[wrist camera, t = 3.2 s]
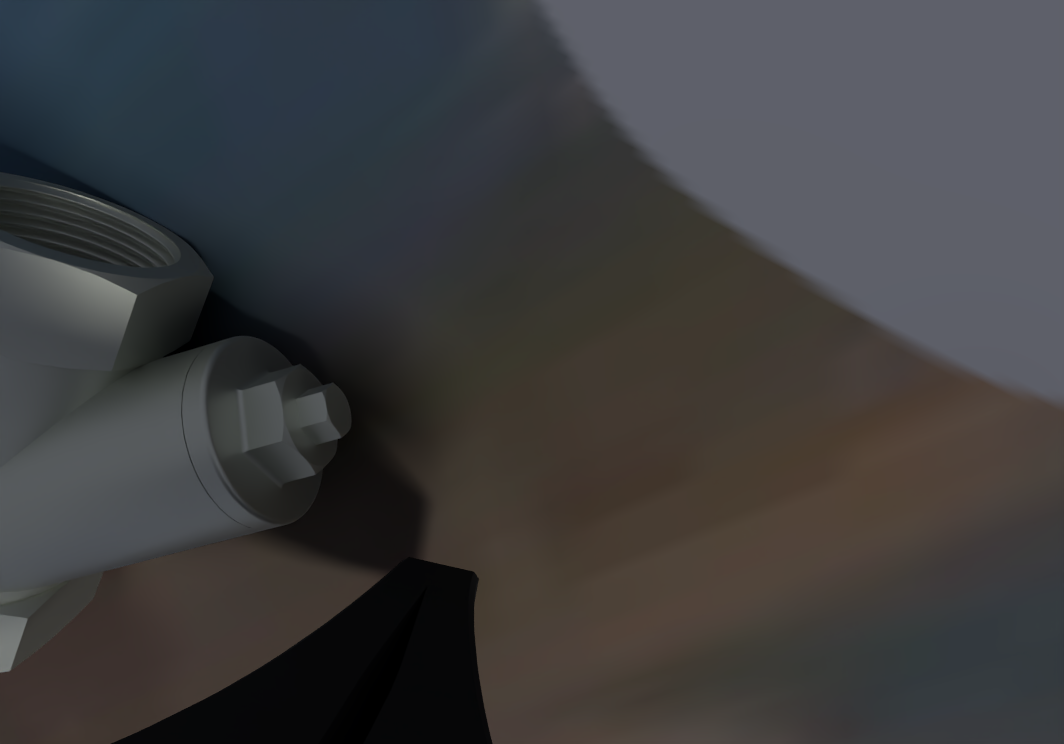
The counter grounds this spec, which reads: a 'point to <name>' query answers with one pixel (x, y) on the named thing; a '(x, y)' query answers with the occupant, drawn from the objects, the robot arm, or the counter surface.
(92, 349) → the pipe fitting
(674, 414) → the counter surface
